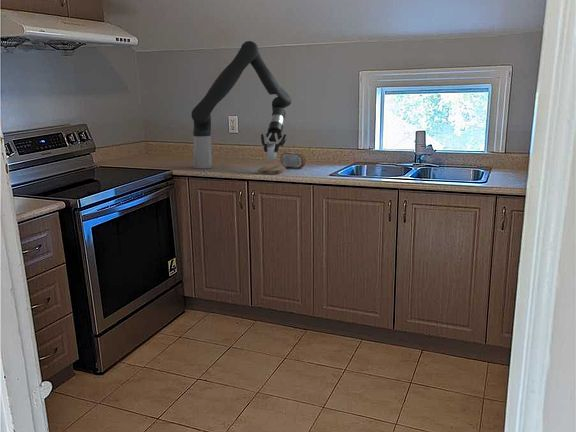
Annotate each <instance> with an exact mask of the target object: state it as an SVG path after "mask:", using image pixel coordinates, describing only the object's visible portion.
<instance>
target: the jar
mask: <svg viewBox="0 0 576 432" xmlns="http://www.w3.org/2000/svg"><path fill="white" fill-rule="evenodd" d="M276 144H277V143H270V144H267V152H266V161H277V152H275V146H276Z"/></svg>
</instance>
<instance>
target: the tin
mask: <svg viewBox="0 0 576 432" xmlns="http://www.w3.org/2000/svg"><path fill="white" fill-rule="evenodd" d="M280 163H281V165H282V166H283V167H285V168H288V167H290V168H289V169H291V168H292V169H303V168H304V167H305V165H306V157H305V155H304V154H303V153H301V152H295V151H293V152H292V151H285V152H283V153H282V154H281V155H280Z"/></svg>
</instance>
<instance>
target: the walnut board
mask: <svg viewBox="0 0 576 432" xmlns="http://www.w3.org/2000/svg"><path fill="white" fill-rule="evenodd" d="M283 171H284V172H285V171H286V167H284V166H283V165H282V166H279V165H278V166H276V165H264V166H262V167H260V168H258V169H257V175H276V174H279V175H280V174H282V173H284V172H283Z"/></svg>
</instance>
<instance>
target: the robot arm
mask: <svg viewBox="0 0 576 432" xmlns="http://www.w3.org/2000/svg"><path fill="white" fill-rule="evenodd" d="M249 64H250V65H251V66H252V68H253V69H254V71H255V73H256V75H257V76H258V78H259V80H260V82H261V84H262V85H263V87H264V89H265V90H266V91H267V93H268V94H269V95H270V96H271V95H276V97H274V98H273V100H272V101H271V109H272V113H271V117H270V120H269V123H268V128H267V133H265V134H263V133H261V135H260V142H261V145H262V146H263V151H264V152H265V153H267V144H272V143H273V142H274V143H275V144H276V146H275V152H276V153H278V152H279V149H280V147H283V146H284V144H285V143H286V141H287V139H288V136H287V134H286V133H284V134H283V130H284V128H285V119H286V114H287V113H286V110H285V108H287V107H289V106H290V105H291V104H292V98H291V96H290V95H289V94H288V92H287V91H285V90H284V88H282V87H281V86H280V84H279V83H278V81H277V80H276V78H275V77H274V74H273V73H272V71H270V69H269V68H268V67H267V65H266V63H265V62H264V60H263V58H262V56H261V53H260V50H259V47H258V44H257V43H256V42H254V41H252V40H247V41H244V42H243V43H241V47H240V49H239V50H238V52H237V54H236V55H235V57H234V58H233V60H231V62H230V63H229V64H228V65H226V66H225V68H224V69H222V71H221V72H220V74H219V75H218V77H216V79H215V80H214V82H213V83H212V84H211V86H210V88H209V89H208V91H207V93H206V94H205V96H204V97H203V98H202V99H201V100H200V101H199V102H198V104H196V105H195V107H194V108H193V109H192V110H191V119H192V120H193V135H192V136H193V150H192V162H193V163H192V165H193V169H210V168H213V159H212V155H213V154H212V138H211V137H212V135H211V134H212V133H211V131H212V117H211V116H212V115H211V114H212V112H213V110H214V109H215V107H216V106H217V105H218V104H219V103H220V102H221V101H222V100H223V99H224V98H225V97H226V96H227V95H228V94H229V93H230V91H231V90H232V89H233V88H234V87H235V85H236V83H237V82H238V81H239V79H240V77H241V76H242V74H243V72H244V70H245V69H246V68H247V67H248V66H249Z"/></svg>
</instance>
